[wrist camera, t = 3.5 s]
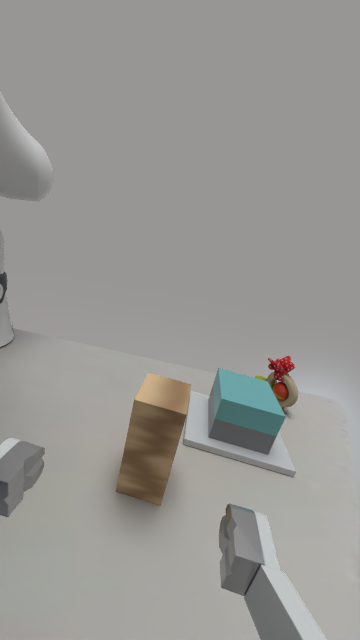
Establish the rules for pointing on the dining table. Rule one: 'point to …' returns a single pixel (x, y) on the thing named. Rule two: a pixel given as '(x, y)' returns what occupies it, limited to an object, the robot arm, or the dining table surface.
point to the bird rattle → (285, 389)
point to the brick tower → (239, 422)
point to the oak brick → (153, 437)
